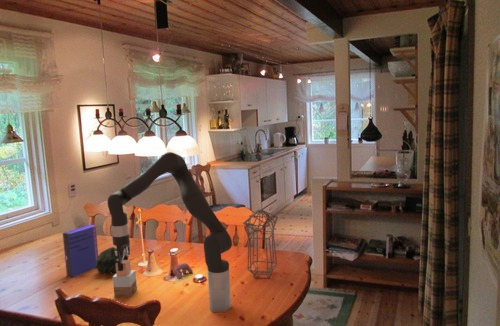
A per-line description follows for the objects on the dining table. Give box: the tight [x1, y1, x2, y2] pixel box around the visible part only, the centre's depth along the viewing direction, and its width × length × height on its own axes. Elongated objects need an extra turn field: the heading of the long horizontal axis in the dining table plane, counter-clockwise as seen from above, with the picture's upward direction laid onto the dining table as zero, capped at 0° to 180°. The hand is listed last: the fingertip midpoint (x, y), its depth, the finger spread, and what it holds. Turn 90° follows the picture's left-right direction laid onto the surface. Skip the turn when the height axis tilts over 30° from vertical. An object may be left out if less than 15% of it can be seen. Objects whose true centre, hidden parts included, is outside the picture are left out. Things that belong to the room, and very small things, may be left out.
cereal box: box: [62, 224, 99, 278], centre depth 226 cm, size 17×5×24 cm, turn 149°
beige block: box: [116, 259, 132, 276], centre depth 195 cm, size 5×5×6 cm
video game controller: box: [173, 262, 193, 279], centre depth 216 cm, size 10×5×7 cm, turn 143°
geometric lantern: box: [242, 208, 278, 279], centre depth 209 cm, size 16×16×35 cm
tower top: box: [112, 269, 137, 288], centre depth 196 cm, size 8×8×5 cm
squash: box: [96, 246, 117, 275], centre depth 223 cm, size 14×15×15 cm
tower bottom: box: [113, 280, 138, 298], centre depth 196 cm, size 8×8×5 cm
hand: (123, 267), depth 195 cm, fingers open, 6 cm apart
